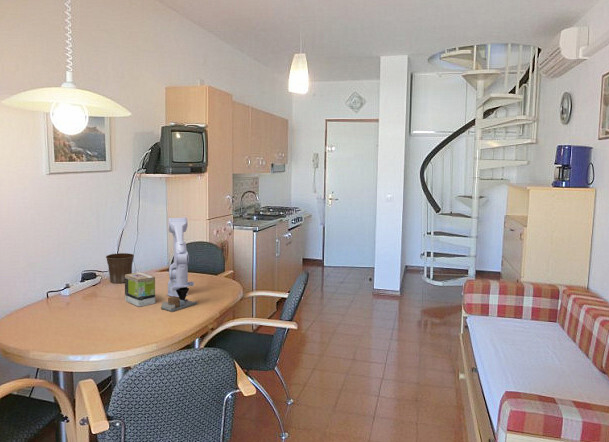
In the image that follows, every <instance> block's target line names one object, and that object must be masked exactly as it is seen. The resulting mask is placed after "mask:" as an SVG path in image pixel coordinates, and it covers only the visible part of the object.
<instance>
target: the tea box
mask: <svg viewBox="0 0 609 442" xmlns="http://www.w3.org/2000/svg"><path fill="white" fill-rule="evenodd" d="M124 300H125V302H126V303H129V304H131V305H134V306H136V307H145V306H149V305H154V304H155V303H156V276H154V275H151V274H149V273H145V272H142V271H140V272H134V273H133V272H132V274H126V275H125V283H124Z"/></svg>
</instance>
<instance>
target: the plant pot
mask: <svg viewBox="0 0 609 442" xmlns="http://www.w3.org/2000/svg"><path fill="white" fill-rule="evenodd" d="M134 257H135V255H134V254H133V253H126V252H125V253H123V252H121V253H119V252H118V253H111V254H108V255H106V256H105V259H106V264H107V267H108V272H109V273H108V274H109V282H110V283H112V284H118V285H119V284H123V283H124V284H125V275H126V274H132V273H133V262H134Z"/></svg>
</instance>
